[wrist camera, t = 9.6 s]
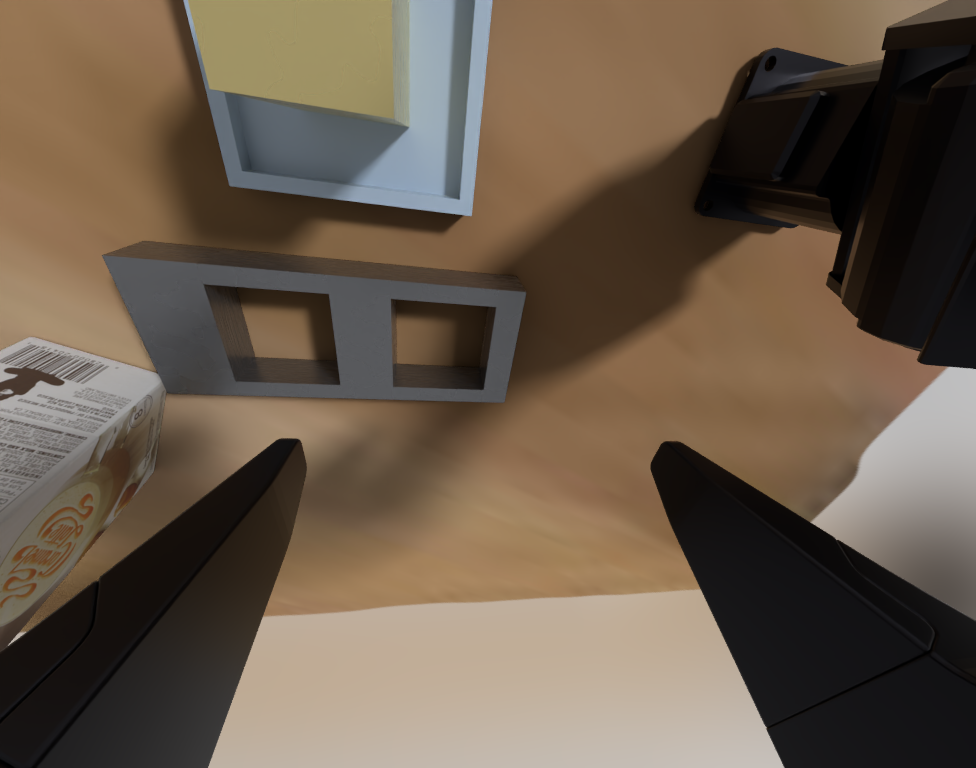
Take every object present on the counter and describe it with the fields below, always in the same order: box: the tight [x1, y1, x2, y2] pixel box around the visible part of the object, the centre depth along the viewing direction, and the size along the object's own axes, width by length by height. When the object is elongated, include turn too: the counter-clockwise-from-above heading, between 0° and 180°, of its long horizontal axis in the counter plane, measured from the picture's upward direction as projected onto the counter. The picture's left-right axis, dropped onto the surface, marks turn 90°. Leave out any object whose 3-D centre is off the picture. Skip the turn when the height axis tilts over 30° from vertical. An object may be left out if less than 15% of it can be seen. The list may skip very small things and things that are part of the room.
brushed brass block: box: [188, 0, 410, 127], centre depth 10 cm, size 4×4×7 cm
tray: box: [184, 0, 492, 216], centre depth 13 cm, size 10×10×2 cm
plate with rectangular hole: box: [102, 241, 526, 403], centre depth 19 cm, size 18×7×2 cm, turn 82°
